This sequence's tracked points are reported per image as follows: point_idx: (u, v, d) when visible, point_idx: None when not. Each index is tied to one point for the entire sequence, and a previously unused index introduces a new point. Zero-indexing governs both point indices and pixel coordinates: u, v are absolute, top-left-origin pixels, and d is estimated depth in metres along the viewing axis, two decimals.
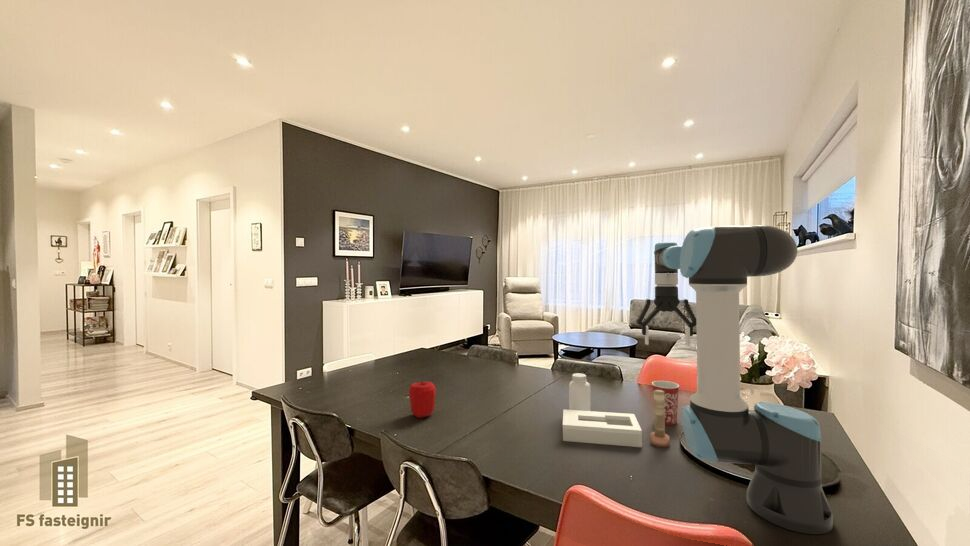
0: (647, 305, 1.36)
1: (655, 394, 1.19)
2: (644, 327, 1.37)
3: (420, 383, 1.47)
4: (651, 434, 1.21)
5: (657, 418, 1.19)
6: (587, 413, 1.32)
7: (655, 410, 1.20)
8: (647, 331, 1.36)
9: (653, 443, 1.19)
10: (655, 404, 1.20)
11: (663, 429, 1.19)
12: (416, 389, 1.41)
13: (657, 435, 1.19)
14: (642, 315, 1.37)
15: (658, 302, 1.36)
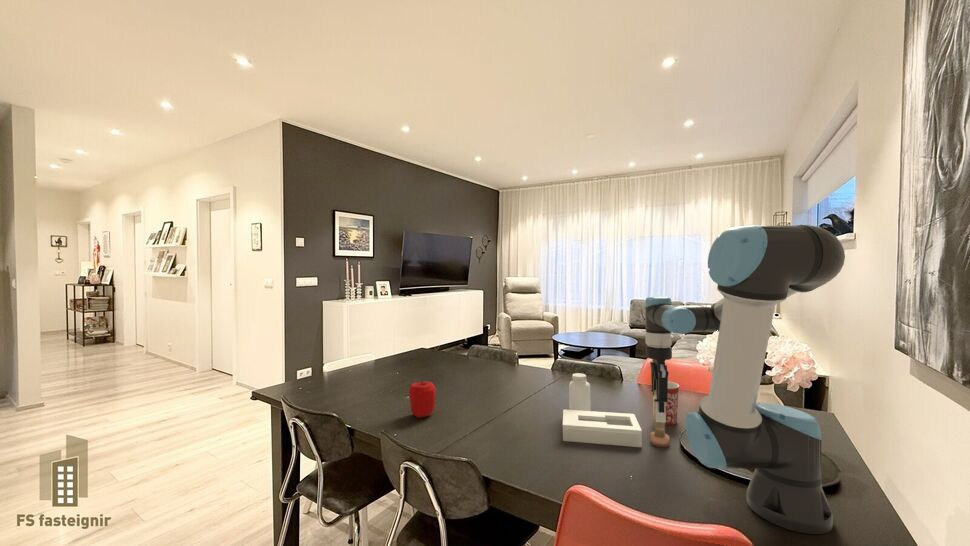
0: (651, 368, 1.25)
1: (655, 394, 1.19)
2: None
3: (420, 383, 1.47)
4: (651, 434, 1.21)
5: None
6: (587, 413, 1.32)
7: (655, 410, 1.20)
8: (653, 402, 1.22)
9: (653, 443, 1.19)
10: (655, 404, 1.20)
11: (663, 429, 1.19)
12: (416, 389, 1.41)
13: (657, 435, 1.19)
14: (651, 381, 1.25)
15: (653, 361, 1.23)
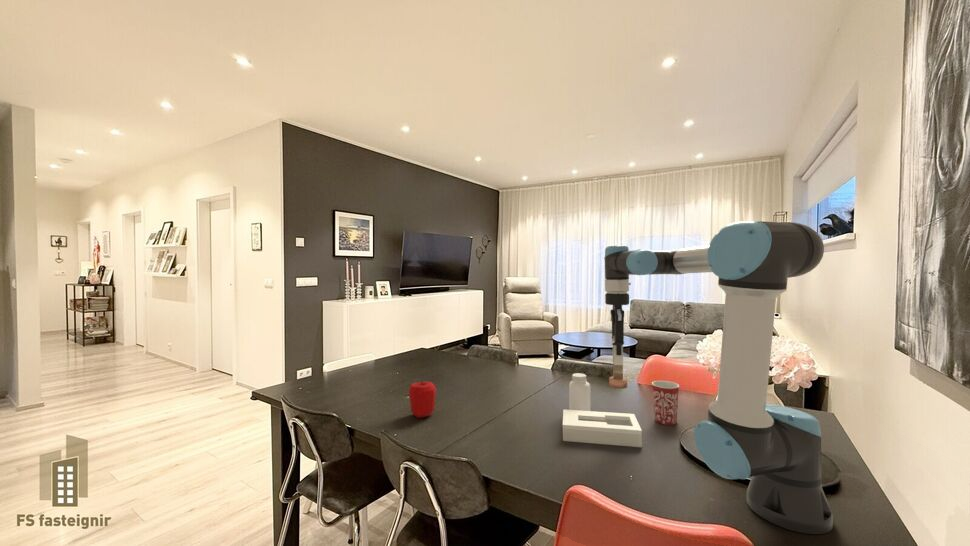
0: None
1: (613, 339, 1.25)
2: None
3: (420, 383, 1.47)
4: (610, 377, 1.26)
5: None
6: (587, 413, 1.32)
7: (613, 354, 1.25)
8: None
9: (611, 385, 1.24)
10: (613, 348, 1.25)
11: (621, 372, 1.24)
12: (416, 389, 1.41)
13: (615, 378, 1.25)
14: None
15: None
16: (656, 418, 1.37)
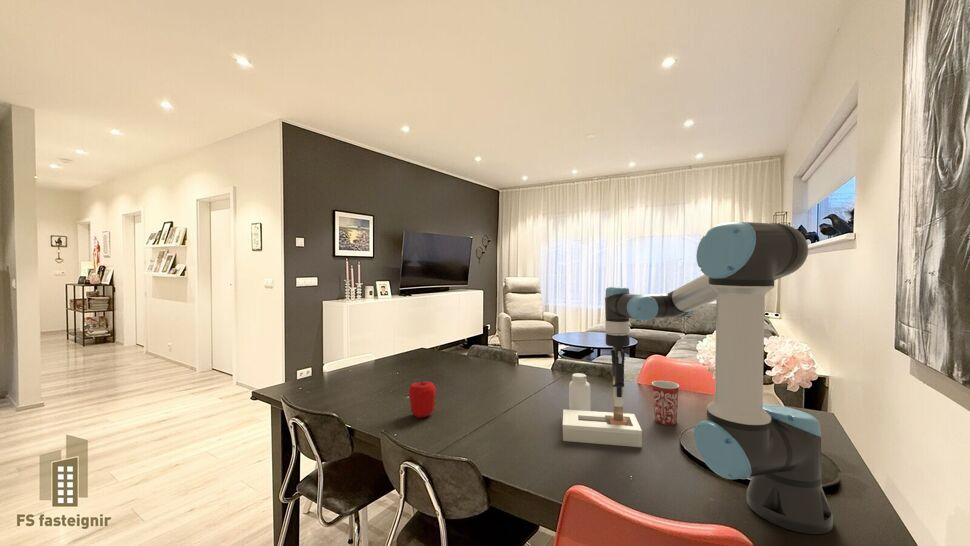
0: None
1: (614, 380, 1.25)
2: None
3: (420, 383, 1.47)
4: (610, 418, 1.26)
5: None
6: (587, 413, 1.32)
7: None
8: None
9: None
10: None
11: (621, 413, 1.24)
12: (416, 389, 1.41)
13: (615, 419, 1.25)
14: (612, 368, 1.31)
15: (613, 349, 1.28)
16: (656, 418, 1.37)
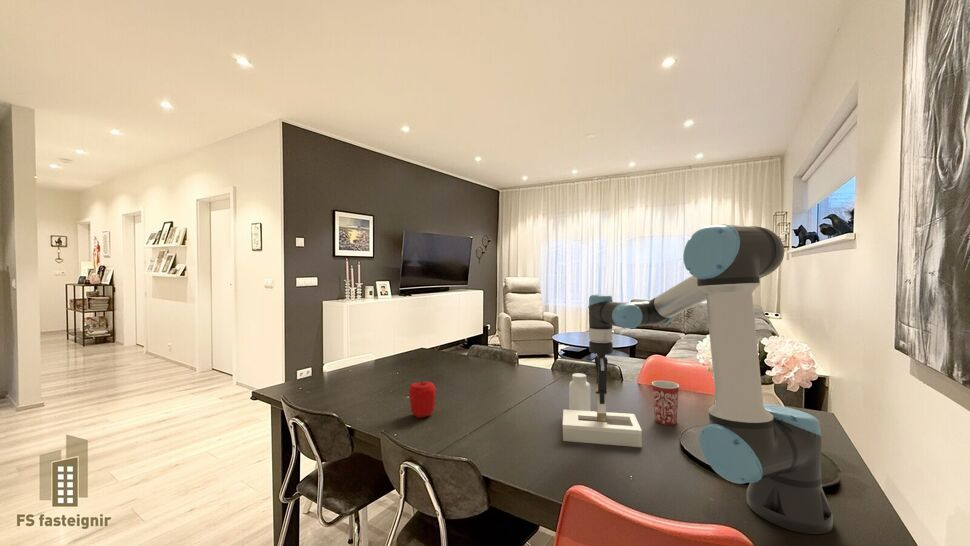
0: None
1: (597, 387, 1.26)
2: None
3: (420, 383, 1.47)
4: None
5: None
6: (587, 413, 1.32)
7: (597, 402, 1.26)
8: None
9: None
10: None
11: (604, 420, 1.25)
12: (416, 389, 1.41)
13: None
14: (596, 374, 1.32)
15: None
16: (656, 418, 1.37)
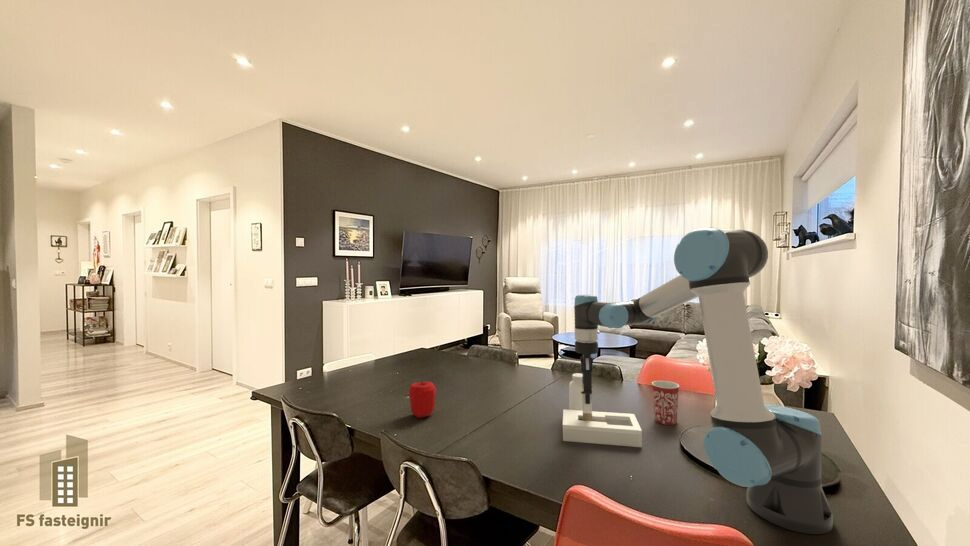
0: None
1: (583, 387, 1.27)
2: None
3: (420, 383, 1.47)
4: None
5: None
6: None
7: None
8: None
9: None
10: None
11: (590, 420, 1.26)
12: (416, 389, 1.41)
13: None
14: (582, 373, 1.33)
15: None
16: (656, 418, 1.37)
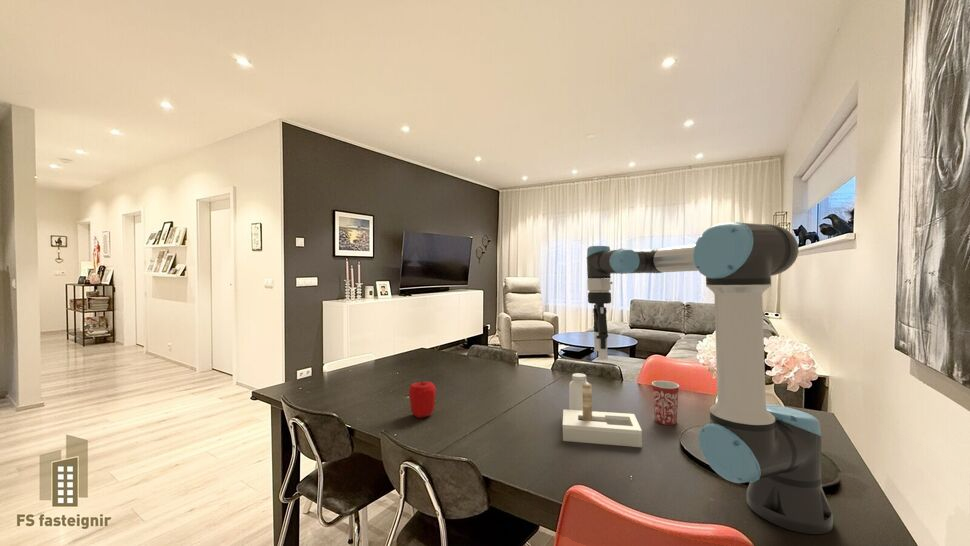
0: None
1: (583, 387, 1.27)
2: None
3: (420, 383, 1.47)
4: None
5: (584, 410, 1.27)
6: None
7: (583, 402, 1.27)
8: (594, 337, 1.35)
9: None
10: (583, 397, 1.27)
11: (590, 420, 1.26)
12: (416, 389, 1.41)
13: None
14: None
15: (595, 308, 1.31)
16: (656, 418, 1.37)
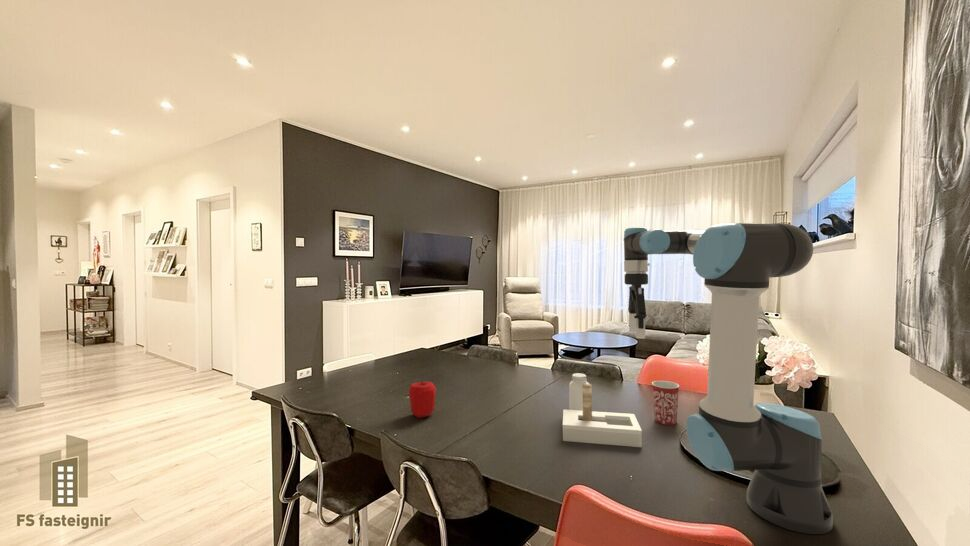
0: (629, 292, 1.36)
1: (583, 387, 1.27)
2: None
3: (420, 383, 1.47)
4: None
5: (584, 410, 1.27)
6: None
7: (583, 402, 1.27)
8: (629, 318, 1.37)
9: None
10: (583, 397, 1.27)
11: (590, 420, 1.26)
12: (416, 389, 1.41)
13: None
14: None
15: (631, 290, 1.33)
16: (656, 418, 1.37)
